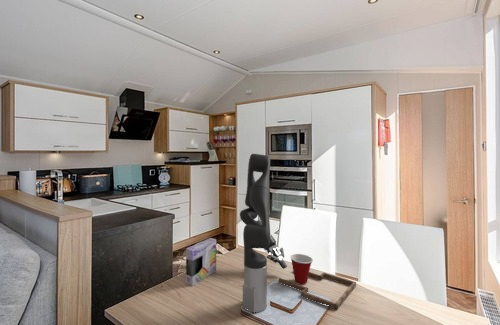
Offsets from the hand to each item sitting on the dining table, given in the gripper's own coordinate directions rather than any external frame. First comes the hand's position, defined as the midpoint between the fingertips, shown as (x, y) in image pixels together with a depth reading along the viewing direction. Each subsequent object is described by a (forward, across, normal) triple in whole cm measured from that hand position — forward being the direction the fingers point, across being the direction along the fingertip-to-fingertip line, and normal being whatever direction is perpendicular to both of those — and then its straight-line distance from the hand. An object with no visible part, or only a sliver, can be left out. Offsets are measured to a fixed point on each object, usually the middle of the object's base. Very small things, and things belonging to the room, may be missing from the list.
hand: (285, 267), depth 131 cm
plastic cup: (+10, 0, -3) cm, 10 cm away
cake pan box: (-19, -28, +26) cm, 43 cm away
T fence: (+14, 0, -8) cm, 17 cm away
